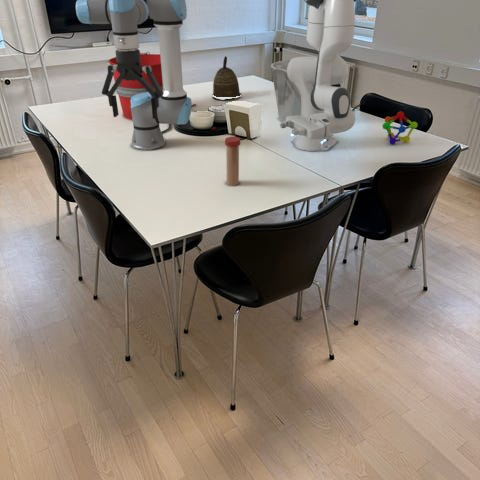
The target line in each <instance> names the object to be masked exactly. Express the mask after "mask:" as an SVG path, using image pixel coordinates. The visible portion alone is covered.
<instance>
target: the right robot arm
mask: <svg viewBox="0 0 480 480" xmlns="http://www.w3.org/2000/svg"><path fill="white" fill-rule="evenodd" d="M303 1H304V2H305V3H306V4H307V6H309V8H308V15H307V25H306V37H305V39H306V43H307V44H308V46H309V47H311V48H312V49H314V50H316V51H317V52H318V53H317V56H308V55H307V56H305V55H303V56H297V57H292V58H291V59H290V60H289V61H290V62H289V64H288V66H287V75H288V78H289V79H290V80H291V81H292V82H293V83H294V84H295V85H296V87H297V88H298V90H299V92H300V96H301V115H296V116H287V117H286V120H285V122H280V123H279V127H280V128H281V129H286V128H289V129H291V134H290V136H291V137H293V136H294V139H293V140H292V143H293V144H294V147H295V148H297V149H299V150H301V151H307V152H320V151H321V152H327V151H329V150H330V149H331V148H333V146H334V145H336V144H337V143H338V139H337V138H335V137H334V135H335V134H340V133H345V132H347V131H349V130H351V129H352V128H353V127H354V125H355V123H356V115H355V112H354V111H355V110H356V109H358V108H359V107H361V106H362V105H363V106H365V105H366V104H365V103H364V104H362V105H361V103H359V104H357V105H355V106H354V107H353V108H352V106H351V98H352V97H351V93H350V91H349V90H348V89H347V88H346V87H341V86H334V85H341V84H343V83H344V81H346V79H347V77H348V74H349V67H348V63H347V62H346V60H345V59H344V58H342V57H341V55H340V54H343V53H344V52H346V51H347V50H348V49H349V48H350V47H351V45H352V44H353V41H354V37H355V26H356V25H355V24H356V23H355V22H356V11H355V10H356V9H355V3H356V2H357V1H358V0H303Z"/></svg>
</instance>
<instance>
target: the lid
mask: <svg viewBox="0 0 480 480" xmlns="http://www.w3.org/2000/svg"><path fill="white" fill-rule="evenodd" d="M224 145H225V147H226V146H229V147H236V146H239V147H240V145H241V138H240V137H237V136H228V137H225V139H224Z"/></svg>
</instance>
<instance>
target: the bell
mask: <svg viewBox="0 0 480 480" xmlns="http://www.w3.org/2000/svg"><path fill="white" fill-rule="evenodd" d="M227 63H228V57H227V56H224V58H223V63H222V67H221V68H219V69H218V70H217V71H216V73H215V75H214V78H213V81H212V83H213V84H212V95H214V96H216V97H236V96H240V95H241V96H242V93H241V92H240V83H239V80H238V79H239V78H238V77H237V75H236V73H235V72H234V70H232V69H231V68H230V67H227Z"/></svg>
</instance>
